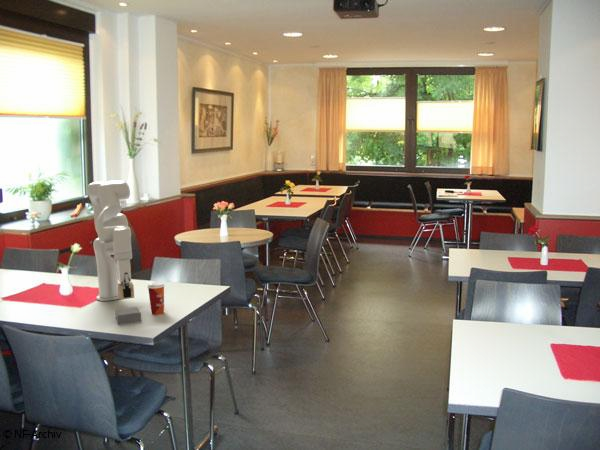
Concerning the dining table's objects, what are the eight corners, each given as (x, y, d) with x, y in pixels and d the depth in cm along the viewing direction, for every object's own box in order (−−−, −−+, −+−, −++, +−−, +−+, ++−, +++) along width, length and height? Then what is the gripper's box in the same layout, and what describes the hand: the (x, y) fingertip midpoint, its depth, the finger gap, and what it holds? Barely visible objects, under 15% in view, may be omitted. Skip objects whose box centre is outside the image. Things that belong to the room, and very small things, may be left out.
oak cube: (118, 296, 283) (117, 283, 282) (132, 294, 286) (131, 281, 285) (120, 299, 278) (119, 286, 277) (134, 297, 280) (133, 284, 279)
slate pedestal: (115, 318, 286) (114, 309, 285) (137, 315, 290) (137, 306, 289) (118, 324, 277) (117, 315, 276) (141, 321, 281) (140, 312, 280)
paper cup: (162, 315, 288) (160, 285, 286) (146, 315, 289) (144, 285, 287) (169, 310, 295) (167, 281, 293) (153, 310, 297) (151, 281, 295)
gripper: (112, 253, 285) (115, 292, 288) (116, 260, 270) (120, 301, 272) (129, 251, 288) (132, 290, 291) (134, 258, 273) (138, 298, 275)
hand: (126, 295), depth 282 cm, fingers closed on oak cube, 6 cm apart
